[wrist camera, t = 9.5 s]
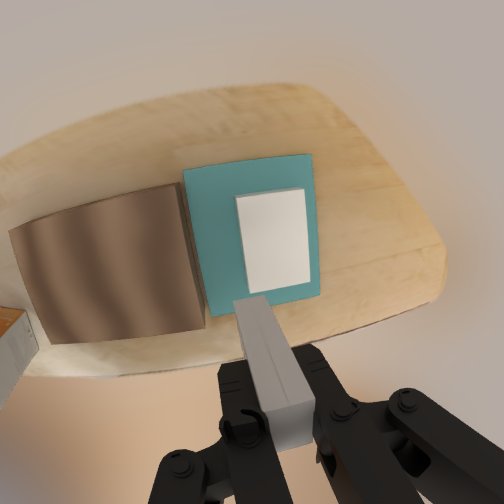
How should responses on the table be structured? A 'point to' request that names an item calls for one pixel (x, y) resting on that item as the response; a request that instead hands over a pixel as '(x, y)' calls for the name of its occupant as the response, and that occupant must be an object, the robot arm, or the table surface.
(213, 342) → the table surface
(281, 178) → the teal mat
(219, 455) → the robot arm
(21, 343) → the small box
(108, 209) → the board
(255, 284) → the tile
